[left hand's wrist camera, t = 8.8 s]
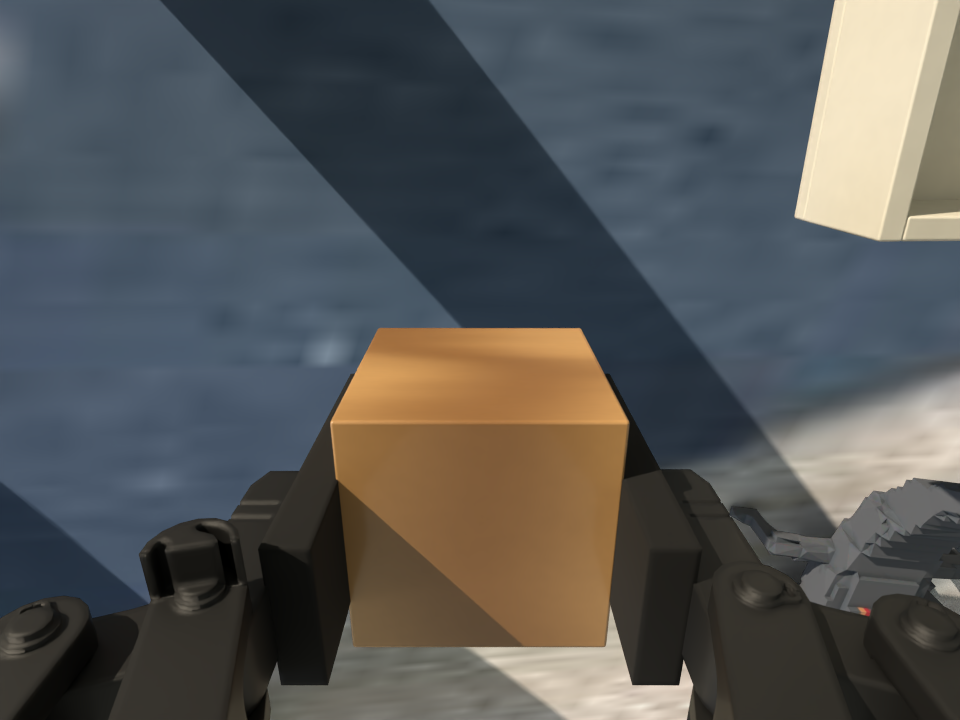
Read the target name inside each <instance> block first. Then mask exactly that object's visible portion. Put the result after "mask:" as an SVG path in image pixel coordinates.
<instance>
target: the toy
mask: <svg viewBox="0 0 960 720" xmlns="http://www.w3.org/2000/svg"><path fill="white" fill-rule="evenodd" d="M729 515H730V516H732V517H734V518H736V519H737V520H739V521H741V522H742V523H744V524H747V525H749V526H751V528H752V529H753V530H754V532H755V533H756V534H757V536H758V537H759V539H760V540H761V541H762V543H763V544H764V545H765V548H766V549H767V551H768V552H769V554H770V555H780V556H791V557H792V558H793V560H794V561H809V562H808V564H807V566H806V568H805V570H804V572H803V574H802V576H801V581H802V582H801V584H800V585H799V586H801V588H802V589H803V591H804V592H805V594H806V596H807V597H808V599H809V601H811V602H814V603H817V604H820V605H824V606H827V607H831V608H835V609H840V610H844V611H848V612H853V613H857V614H862V615H866V616H869V615H870V612H871V609H872V606H873V603H874V602H875V601H877V600H878V599H879V598H880V597H881V596H884V595H891V594H897V593H898V594H905V595H912V596H918V597H921V598H924V599H927V600H930V601H932V602H935V603H938V604H940V605H942V604H941V603H940V602H939V601H938V600H937V599H936V598H935V597H934V596H933V595H932V594H931V593H930V591H931V590H932V589H933V588H935V587H936V586H935V585H934V584H933V583H932V582H931V580H932V578H940V579H960V553H959V552H958V551H957V550H956V549H955V548H959V546H960V483H952V482H943V481H935V480H927V479H918V478H913V480H906V482H905V484H904V486H903V487H897V489H894V488H891V489H890V490H889V491H887V492H880V491H873V492H872V493H871V494H870V496H869V497H865V499H864V500H863V502H862V503H861V505H860V507H859V508H858V509H857V511H856V512H855V513H854V515H853V516H852V517H851V518H850V519H846V518H844V520H843V521H842V523H841V524H840V525H839V527H838V528H837V530H836V531H835V533H834V534H833V536H832V537H831V538H817V537H806V536H802V535H799V534H793V533H787V532H781V531H776V530H775V529H774V528H773V527H772V526H770V525H769V524H768V523H767V522H766V521H765V520H764V519H763V517H762V516H761V515H760V513H759V512H758V511H757V509H751V508H742V507H732V508H731V511H730V514H729ZM942 606H943V605H942Z"/></svg>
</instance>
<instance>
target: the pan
mask: <svg viewBox="0 0 960 720" xmlns="http://www.w3.org/2000/svg"><path fill="white" fill-rule="evenodd" d="M795 218H796V219H800V220H803V221H806V222H810V223H814V224H817V225H821V226H825V227H828V228H832V229H835V230H839V231H843V232H846V233H850V234H854V235H857V236H861V237H865V238H868V239H872V240H876V241H960V0H835V3H834V8H833V14H832V19H831V24H830V30H829V35H828V40H827V46H826V51H825V57H824V62H823V67H822V73H821V78H820V83H819V89H818V94H817V99H816V105H815V110H814V115H813V121H812V126H811V131H810V137H809V142H808V147H807V153H806V158H805V163H804V169H803V174H802V179H801V185H800V190H799V196H798V201H797V206H796V212H795Z"/></svg>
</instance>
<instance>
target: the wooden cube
mask: <svg viewBox="0 0 960 720" xmlns="http://www.w3.org/2000/svg"><path fill="white" fill-rule="evenodd" d="M629 425H630V423H629V420H628V418H627V416H626V415H625V413H624V411H623V409H622V407H621V405H620V403H619V401H618V399H617V397H616V395H615V393H614V391H613V390H612V388H611V386H610V384H609V382H608V380H607V378H606V376H605V374H604V372H603V370H602V368H601V366H600V364H599V363H598V361H597V359H596V357H595V355H594V353H593V351H592V349H591V347H590V345H589V343H588V341H587V339H586V337H585V336H584V334H583V332H582V330H581V329H580V328H379V329H378V330H377V332H376V334H375V336H374V338H373V340H372V342H371V344H370V346H369V348H368V350H367V352H366V354H365V356H364V358H363V359H362V361H361V363H360V365H359V367H358V369H357V371H356V373H355V375H354V377H353V379H352V381H351V383H350V385H349V387H348V389H347V391H346V393H345V394H344V396H343V398H342V400H341V402H340V404H339V406H338V408H337V410H336V412H335V414H334V416H333V418H332V420H331V422H330V427H331V437H332V447H333V456H334V466H335V476H336V480H338V485H339V495H340V504H341V514H342V524H343V533H344V543H345V553H346V562H347V572H348V582H349V591H350V601H351V603H350V606H349V611H350V620H351V630H352V640H353V645H354V647H605V646H606V641H607V632H608V622H609V613H610V593H611V583H612V574H613V564H614V554H615V545H616V535H617V526H618V516H619V506H620V497H621V487H622V480H623V479H624V472H625V463H626V453H627V444H628V435H629Z"/></svg>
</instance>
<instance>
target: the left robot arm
mask: <svg viewBox="0 0 960 720" xmlns="http://www.w3.org/2000/svg"><path fill="white" fill-rule="evenodd" d="M354 375H355V374H351V375H350V377H349V378H348V380H347V382H346V384H345V386H344V388H343V390H342V392H341V393H340V395H339V397H338V399H337V401H336V403H335V405H334V407H333V409H332V410H331V412H330V414H329V416H328V418H327V420H326V422H325V424H324V425H323V427H322V429H321V431H320V433H319V435H318V437H317V439H316V441H315V442H314V444H313V446H312V448H311V450H310V452H309V454H308V456H307V457H306V459H305V461H304V463H303V465H302V467H301V469H300V471H270V472H268V473H267V474H266V475H264V476H263V477H262V478H260V479H259V480H258V481H256V482H255V483H254V484H252V485H251V486H250V488H249V489H248V491H247V492H246V494H245V495H244V497H243V499H242V500H241V502H240V505H238V506H237V508H236V509H235V511H234V512H233V514H232V516H231V519H229V520H228V521H225V520H221V519H217V518H206V519H196V520H191V521H187V522H183V523H180V524H177V525H175V526H173V527H171V528H169V529H166V530H164V531H162V532H161V533H159V534H158V535H157V536H155V537H154V538H153V539H151V540H150V541H149V542H147V544H146V545H145V547H144V548H143V549H142V551H141V552H140V553H139V557H140V561H141V564H142V568H143V572H144V576H145V580H146V583H147V587H148V591H149V595H150V598H151V602H150V604H148V605H145V606H141V607H138V608H135V609H131V610H126V611H122V612H118V613H113V614H109V615H105V616H100V617H96V618H92V617H91V614H90V610H89V607H88V605H87V604H86V603H84V602H83V601H82V600H81V599H80V598H75V597H69V596H58V597H51V598H44V599H41V600H38V601H36V602H33V603H30V604H27V605H24V606H22V607H20V608H18V609H16V610H14V611H12V612H11V613H9V614H7V615H5V616H3V617H2V618H0V720H270V712H271V708H270V701H269V695H268V690H267V686H268V684H269V681H270V678H271V676H272V673H273V670H274V668H275V665H276V663H278V669H279V675H280V680H281V685H328V683H329V679H330V676H331V672H332V668H333V665H334V661H335V657H336V654H337V650H338V646H339V643H340V639H341V635H342V632H343V628H344V625H345V621H346V617H347V614H348V610H349V606H350V603H351V601H350V591H349V582H348V572H347V562H346V553H345V543H344V533H343V524H342V514H341V504H340V495H339V485H338V480H336V476H335V466H334V456H333V447H332V437H331V427H330V422H331V420H332V418H333V416H334V414H335V412H336V410H337V408H338V406H339V404H340V402H341V400H342V398H343V396H344V394H345V393H346V391H347V389H348V387H349V385H350V383H351V381H352V379H353V377H354ZM605 376H606V378H607V380H608V382H609V384H610V386H611V388H612V390H613V391H614V393H615V395H616V397H617V399H618V401H619V403H620V405H621V407H622V409H623V411H624V413H625V415H626V416H627V418H628V420H629V423H630V425H629V435H628V444H627V453H626V463H625V472H624V479H623V480H622V487H621V497H620V506H619V516H618V526H617V535H616V545H615V554H614V564H613V574H612V583H611V593H610V605H611V609H612V612H613V616H614V619H615V623H616V627H617V630H618V634H619V638H620V641H621V645H622V649H623V652H624V656H625V660H626V663H627V667H628V670H629V674H630V678H631V681H632V685H679V683H680V677H681V671H682V666H683V660H684V661H685V664H686V667H687V669H688V672H689V674H690V677H691V680H692V682H693V690H692V695H691V700H690V706H689V711H688V717H687V720H960V615H959V614H957V613H955V612H953V611H951V610H950V609H948V608H946V607H944V606H942V605H940V604H938V603H935V602H932V601H930V600H927V599H924V598H921V597H918V596H912V595H905V594H898V593H897V594H891V595H884V596H881V597H880V598H879V599H878V600H877V601H875V602H874V603H873V606H872V609H871V612H870V615H869V616H866V615H862V614H857V613H853V612H848V611H844V610H840V609H835V608H831V607H827V606H824V605H820V604H817V603H814V602H811V601H809V599H808V597H807V596H806V594H805V592H804V591H803V589H802V588H801V586H799V585H798V584H797V583H796V582H795V581H793V580H792V579H791V578H790V577H789V576H788V575H786V574H784V573H782V572H780V571H778V570H776V569H774V568H772V567H770V566H766V565H763V564H762V563H761V562H760V560H759V559H758V557H757V555H756V554H755V552H754V551H753V549H752V548H751V546H750V545H749V543H748V542H747V540H746V539H745V537H744V536H743V534H742V532H741V531H740V529H739V528H738V526H737V525H736V523H735V522H734V520H733V519H732V517H730V516H729V512H728V511H727V509H726V508H725V506H724V505H723V503H721V502H720V499H719V497H718V496H717V494H716V492H715V491H714V489H713V488H712V486H711V485H710V483H708V482H707V481H705V480H704V479H703V478H701V477H700V476H699V475H697V474H696V473H695V472H693V471H692V470H691V469H660V468H659V466H658V464H657V462H656V460H655V459H654V457H653V455H652V453H651V451H650V449H649V447H648V445H647V444H646V442H645V440H644V438H643V436H642V434H641V432H640V430H639V428H638V427H637V425H636V423H635V421H634V419H633V417H632V415H631V413H630V412H629V410H628V408H627V406H626V404H625V402H624V400H623V398H622V397H621V395H620V393H619V391H618V389H617V387H616V385H615V383H614V381H613V380H612V378H611V376H610V374H605Z"/></svg>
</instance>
